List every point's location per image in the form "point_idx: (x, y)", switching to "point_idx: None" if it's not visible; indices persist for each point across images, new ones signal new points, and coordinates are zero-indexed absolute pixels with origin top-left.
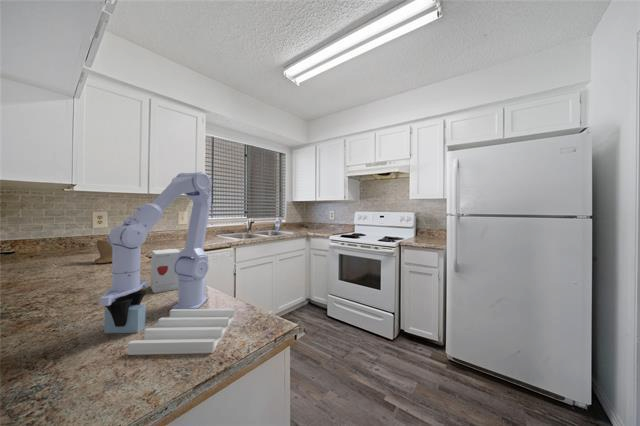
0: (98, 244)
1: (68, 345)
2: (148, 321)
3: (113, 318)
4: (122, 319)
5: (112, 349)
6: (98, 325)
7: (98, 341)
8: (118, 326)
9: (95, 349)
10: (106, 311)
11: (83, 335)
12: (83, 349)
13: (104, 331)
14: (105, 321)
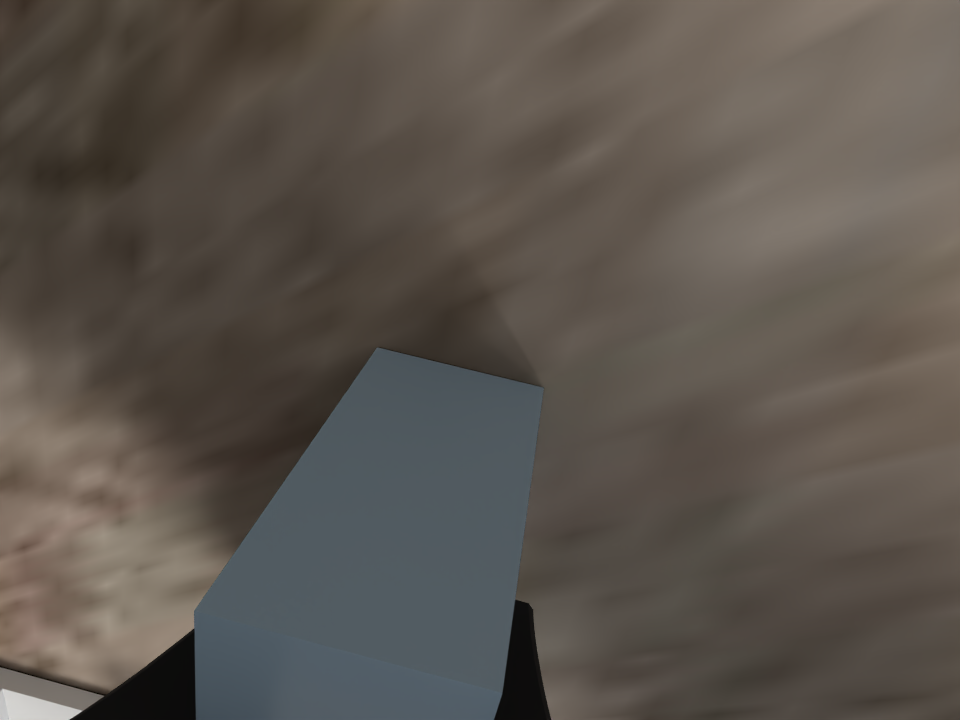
0: None
1: (69, 57)
2: (623, 690)
3: None
4: None
5: (34, 548)
6: (714, 121)
7: (171, 373)
8: None
9: (18, 418)
10: (222, 602)
11: (350, 85)
12: (5, 305)
13: (370, 358)
14: (314, 451)
